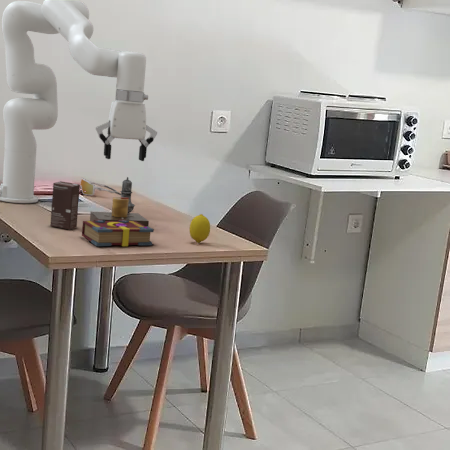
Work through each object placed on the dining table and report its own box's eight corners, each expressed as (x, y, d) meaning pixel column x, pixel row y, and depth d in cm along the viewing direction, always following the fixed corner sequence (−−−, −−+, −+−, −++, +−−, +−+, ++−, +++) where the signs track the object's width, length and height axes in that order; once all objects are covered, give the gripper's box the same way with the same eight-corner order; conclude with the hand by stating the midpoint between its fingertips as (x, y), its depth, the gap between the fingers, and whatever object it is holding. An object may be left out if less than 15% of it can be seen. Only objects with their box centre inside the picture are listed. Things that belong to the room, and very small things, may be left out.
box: (49, 226, 201) (52, 182, 199) (58, 224, 205) (61, 180, 203) (69, 230, 199) (72, 185, 197) (77, 227, 203) (81, 184, 201)
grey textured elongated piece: (130, 218, 225) (133, 179, 222) (111, 215, 226) (115, 176, 223) (136, 215, 230) (140, 177, 228) (118, 213, 231) (121, 174, 229)
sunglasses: (74, 189, 267) (77, 175, 266) (114, 196, 274) (117, 183, 273) (84, 196, 254) (87, 181, 254) (125, 203, 261) (129, 189, 260)
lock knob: (113, 217, 208) (115, 198, 207) (109, 214, 212) (111, 195, 211) (129, 217, 210) (130, 199, 209) (124, 214, 214) (126, 196, 213)
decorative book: (80, 237, 193) (82, 218, 192) (138, 236, 201) (139, 218, 200) (96, 247, 183) (98, 227, 182) (156, 246, 192) (158, 227, 191)
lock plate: (98, 230, 203) (99, 218, 203) (89, 221, 213) (90, 210, 213) (147, 231, 209) (149, 220, 208) (137, 223, 219) (137, 212, 218)
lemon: (187, 240, 203) (190, 211, 202) (207, 242, 204) (211, 213, 202) (188, 244, 198) (191, 215, 196) (209, 246, 198) (212, 216, 197)
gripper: (155, 99, 213) (150, 159, 216) (95, 94, 206) (91, 156, 209) (163, 101, 206) (158, 162, 209) (101, 95, 199) (97, 159, 202)
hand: (124, 159), depth 209 cm, fingers open, 9 cm apart
